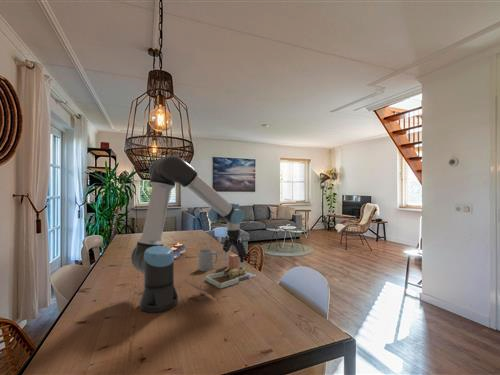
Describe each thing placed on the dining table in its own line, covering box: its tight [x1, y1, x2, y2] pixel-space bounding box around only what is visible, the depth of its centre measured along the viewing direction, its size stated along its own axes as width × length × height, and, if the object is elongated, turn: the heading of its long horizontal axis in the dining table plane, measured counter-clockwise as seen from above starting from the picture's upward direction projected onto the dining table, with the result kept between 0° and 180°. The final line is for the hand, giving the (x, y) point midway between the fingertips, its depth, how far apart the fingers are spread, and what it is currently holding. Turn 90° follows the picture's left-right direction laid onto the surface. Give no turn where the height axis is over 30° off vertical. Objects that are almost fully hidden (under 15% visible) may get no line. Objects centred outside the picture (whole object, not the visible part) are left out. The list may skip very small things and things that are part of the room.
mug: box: [198, 248, 219, 272], centre depth 154 cm, size 12×8×11 cm
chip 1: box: [228, 269, 239, 280], centre depth 134 cm, size 4×4×4 cm
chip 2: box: [236, 267, 247, 276], centre depth 136 cm, size 4×4×4 cm
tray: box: [204, 271, 240, 289], centre depth 129 cm, size 11×14×3 cm
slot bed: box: [224, 270, 258, 282], centre depth 137 cm, size 14×10×3 cm
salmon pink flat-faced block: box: [228, 253, 239, 270], centre depth 150 cm, size 4×4×9 cm
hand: (234, 265), depth 150 cm, fingers open, 13 cm apart
